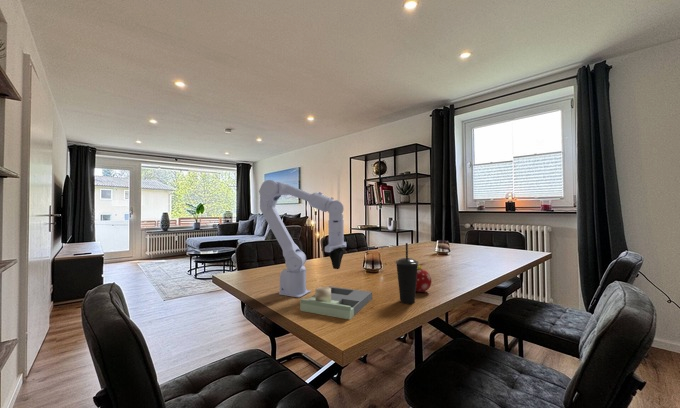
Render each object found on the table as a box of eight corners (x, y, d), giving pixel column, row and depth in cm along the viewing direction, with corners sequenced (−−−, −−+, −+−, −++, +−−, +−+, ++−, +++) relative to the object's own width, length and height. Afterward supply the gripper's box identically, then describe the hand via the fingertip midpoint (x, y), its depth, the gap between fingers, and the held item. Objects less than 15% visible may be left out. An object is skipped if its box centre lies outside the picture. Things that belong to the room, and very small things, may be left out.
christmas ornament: (406, 288, 111) (405, 263, 111) (427, 288, 111) (427, 262, 111) (411, 295, 102) (410, 267, 102) (434, 295, 102) (434, 267, 102)
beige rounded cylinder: (312, 303, 88) (312, 290, 88) (320, 298, 93) (320, 286, 93) (326, 305, 86) (326, 292, 86) (333, 300, 90) (333, 287, 90)
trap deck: (300, 310, 88) (300, 299, 88) (329, 292, 106) (329, 283, 106) (349, 319, 81) (349, 307, 81) (372, 298, 99) (372, 288, 99)
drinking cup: (398, 296, 101) (397, 241, 101) (420, 299, 98) (419, 242, 98) (394, 303, 94) (393, 244, 94) (417, 306, 91) (416, 245, 91)
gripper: (337, 234, 97) (337, 273, 97) (353, 231, 110) (353, 265, 110) (319, 234, 100) (319, 272, 100) (337, 230, 113) (337, 264, 113)
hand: (336, 268), depth 105 cm, fingers closed
